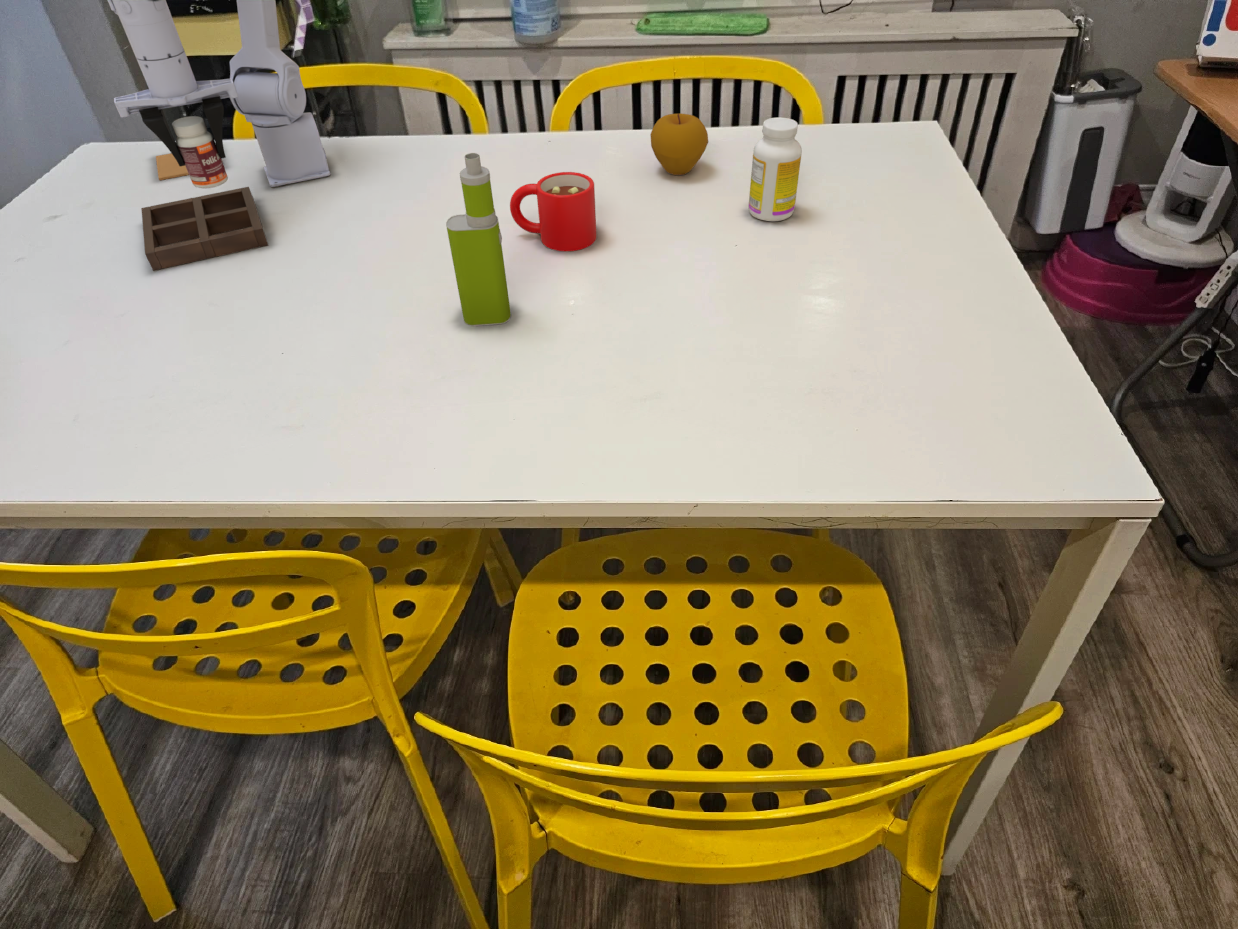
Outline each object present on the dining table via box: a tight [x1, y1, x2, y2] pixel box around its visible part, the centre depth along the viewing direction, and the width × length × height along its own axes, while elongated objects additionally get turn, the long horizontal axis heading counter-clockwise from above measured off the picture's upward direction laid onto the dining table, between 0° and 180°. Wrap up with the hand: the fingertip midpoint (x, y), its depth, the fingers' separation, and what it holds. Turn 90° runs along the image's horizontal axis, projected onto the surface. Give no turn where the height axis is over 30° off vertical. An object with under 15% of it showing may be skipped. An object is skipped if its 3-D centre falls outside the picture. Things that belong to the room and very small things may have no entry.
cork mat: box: [155, 152, 189, 181], centre depth 134 cm, size 10×10×1 cm
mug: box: [509, 171, 598, 252], centre depth 110 cm, size 8×12×8 cm, turn 84°
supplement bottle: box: [748, 116, 803, 222], centre depth 112 cm, size 7×7×13 cm
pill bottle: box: [171, 115, 229, 189], centre depth 109 cm, size 5×5×8 cm
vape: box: [445, 152, 512, 327], centre depth 91 cm, size 4×6×20 cm, turn 95°
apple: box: [649, 113, 709, 176], centre depth 124 cm, size 9×9×9 cm
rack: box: [140, 186, 269, 271], centre depth 114 cm, size 15×15×3 cm
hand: (202, 159), depth 109 cm, fingers closed on pill bottle, 5 cm apart
